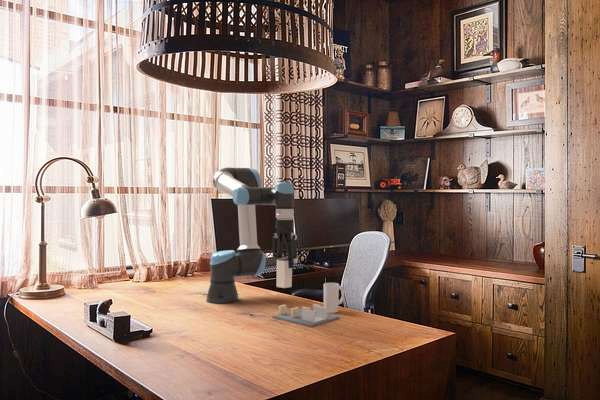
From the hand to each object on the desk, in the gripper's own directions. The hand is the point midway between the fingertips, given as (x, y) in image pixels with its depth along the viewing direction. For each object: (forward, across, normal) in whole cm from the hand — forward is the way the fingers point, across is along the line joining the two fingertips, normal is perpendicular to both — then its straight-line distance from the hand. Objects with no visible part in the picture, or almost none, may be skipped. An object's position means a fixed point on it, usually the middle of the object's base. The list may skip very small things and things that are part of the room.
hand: (284, 275), depth 205 cm
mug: (+18, +8, +23) cm, 30 cm away
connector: (+5, 0, 0) cm, 5 cm away
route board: (+18, +7, +5) cm, 20 cm away
